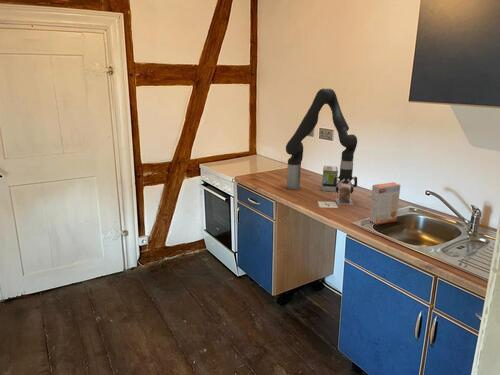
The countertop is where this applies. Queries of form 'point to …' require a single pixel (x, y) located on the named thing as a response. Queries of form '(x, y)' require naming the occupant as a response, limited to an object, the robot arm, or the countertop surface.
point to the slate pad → (343, 203)
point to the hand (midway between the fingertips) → (344, 192)
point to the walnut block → (344, 195)
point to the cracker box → (384, 203)
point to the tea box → (329, 178)
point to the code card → (328, 204)
